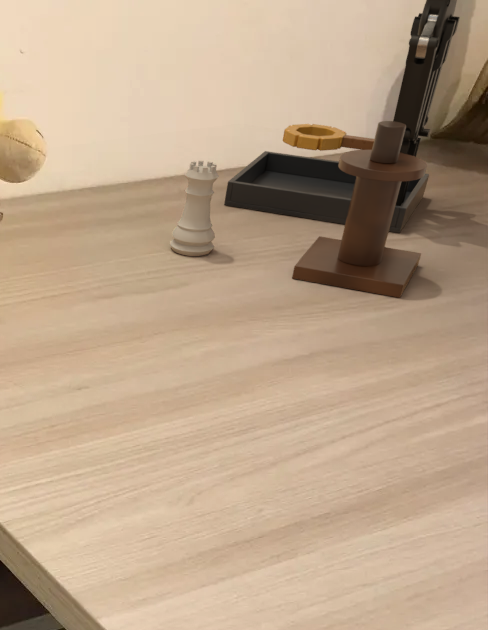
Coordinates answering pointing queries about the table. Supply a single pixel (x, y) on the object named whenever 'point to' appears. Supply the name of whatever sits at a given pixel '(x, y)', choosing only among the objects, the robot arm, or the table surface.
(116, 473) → the table surface
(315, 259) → the peg stand
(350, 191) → the tray
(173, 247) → the rook chess piece
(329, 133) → the hanging ring
